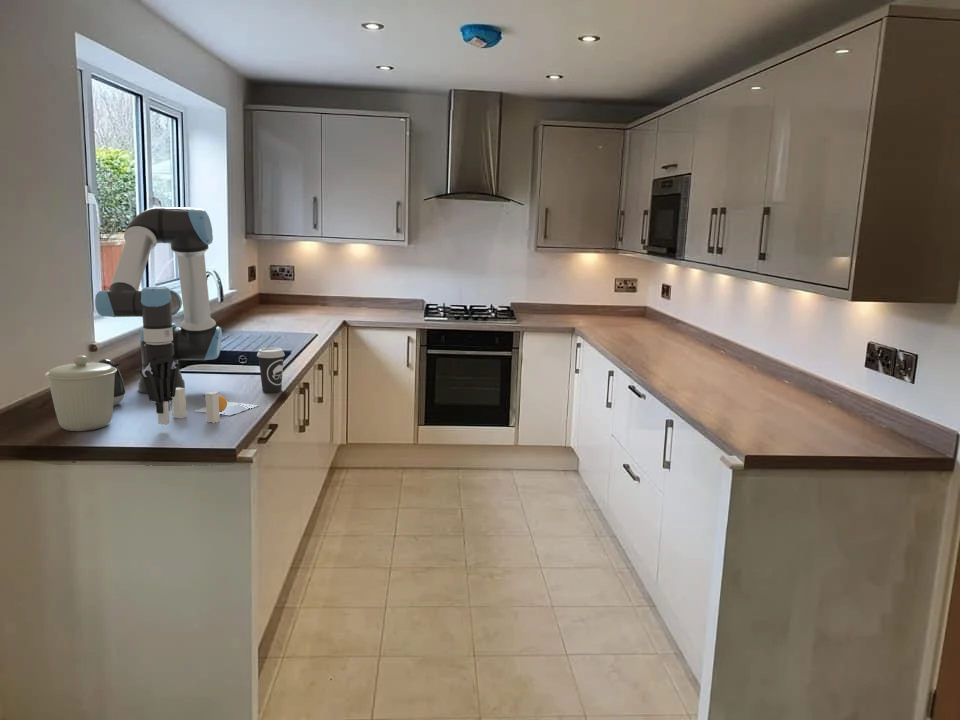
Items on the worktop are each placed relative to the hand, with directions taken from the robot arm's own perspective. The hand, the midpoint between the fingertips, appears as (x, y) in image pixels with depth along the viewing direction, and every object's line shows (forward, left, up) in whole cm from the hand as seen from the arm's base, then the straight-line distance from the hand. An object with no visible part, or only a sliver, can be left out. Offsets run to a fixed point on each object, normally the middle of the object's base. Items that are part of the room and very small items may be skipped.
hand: (164, 423), depth 205 cm
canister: (+6, -23, -2) cm, 24 cm away
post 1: (-13, -6, -2) cm, 15 cm away
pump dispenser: (-15, -37, -2) cm, 40 cm away
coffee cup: (-53, -2, -2) cm, 53 cm away
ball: (-22, 0, 0) cm, 22 cm away
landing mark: (-27, 0, -2) cm, 27 cm away
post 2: (-13, +6, -2) cm, 15 cm away
